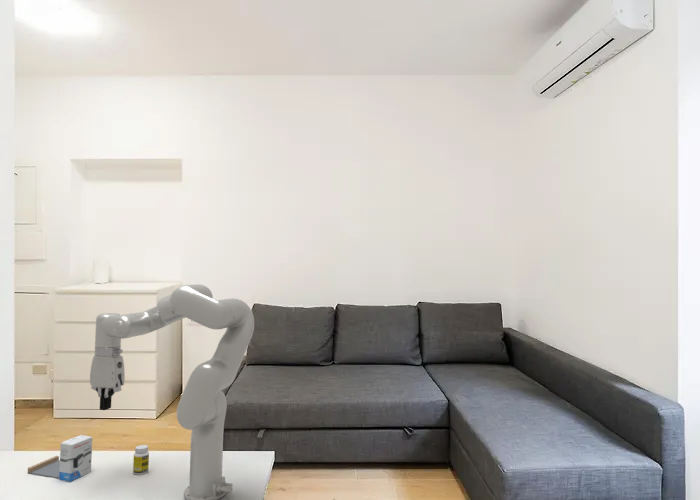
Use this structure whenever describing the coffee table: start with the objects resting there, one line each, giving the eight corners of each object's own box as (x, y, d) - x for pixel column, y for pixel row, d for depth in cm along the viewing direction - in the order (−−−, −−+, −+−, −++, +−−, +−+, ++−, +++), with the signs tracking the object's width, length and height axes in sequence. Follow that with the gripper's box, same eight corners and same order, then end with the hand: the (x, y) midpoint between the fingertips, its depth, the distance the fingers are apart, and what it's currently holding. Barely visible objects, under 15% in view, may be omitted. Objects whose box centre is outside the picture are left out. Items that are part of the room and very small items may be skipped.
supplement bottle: (142, 475, 162) (143, 449, 162) (129, 474, 163) (130, 448, 163) (151, 470, 166) (152, 444, 167) (138, 468, 167) (139, 443, 168)
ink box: (69, 482, 156) (71, 444, 156) (58, 479, 158) (59, 442, 158) (92, 471, 164) (93, 436, 165) (80, 469, 166) (82, 434, 166)
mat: (86, 465, 169) (86, 460, 169) (59, 478, 158) (59, 473, 158) (55, 461, 173) (56, 455, 173) (27, 473, 162) (27, 467, 162)
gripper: (135, 351, 161) (132, 408, 160) (97, 348, 165) (95, 403, 164) (118, 355, 154) (116, 414, 153) (79, 351, 158) (77, 409, 157)
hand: (105, 408), depth 159 cm, fingers closed
